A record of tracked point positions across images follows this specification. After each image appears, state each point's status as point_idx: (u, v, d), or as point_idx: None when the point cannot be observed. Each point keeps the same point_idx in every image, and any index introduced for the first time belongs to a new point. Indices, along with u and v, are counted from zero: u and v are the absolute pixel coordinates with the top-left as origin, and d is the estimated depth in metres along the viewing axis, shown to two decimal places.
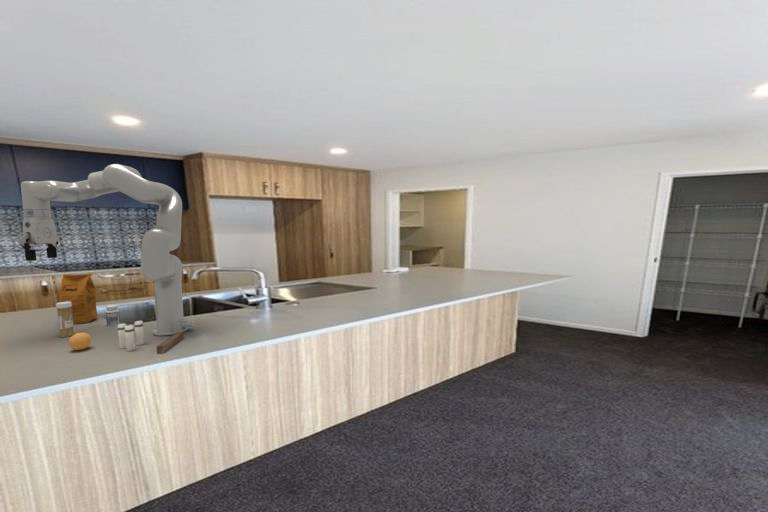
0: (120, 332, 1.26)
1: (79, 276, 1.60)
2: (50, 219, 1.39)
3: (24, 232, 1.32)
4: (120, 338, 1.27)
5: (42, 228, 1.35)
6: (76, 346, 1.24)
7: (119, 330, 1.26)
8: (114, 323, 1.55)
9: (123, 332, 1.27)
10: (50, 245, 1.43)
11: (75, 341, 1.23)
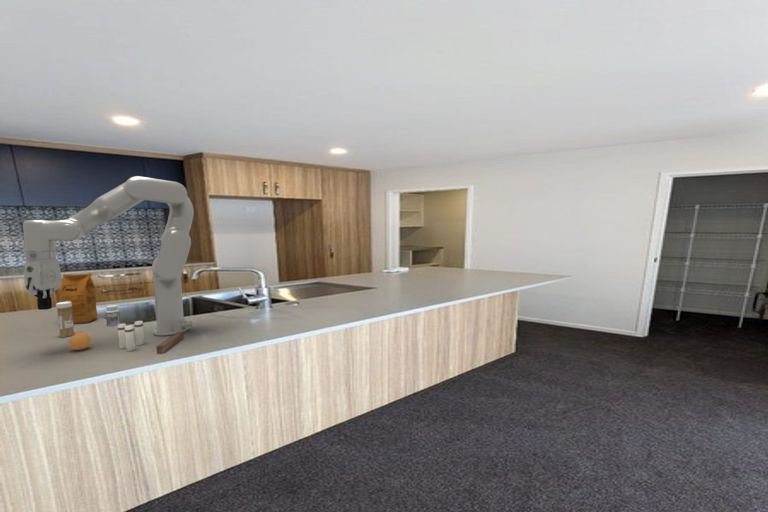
0: (120, 332, 1.26)
1: (79, 276, 1.60)
2: (55, 261, 1.25)
3: (26, 277, 1.18)
4: (120, 338, 1.27)
5: (45, 272, 1.21)
6: (76, 346, 1.24)
7: (119, 330, 1.26)
8: (114, 323, 1.55)
9: (123, 332, 1.27)
10: None
11: (75, 341, 1.23)
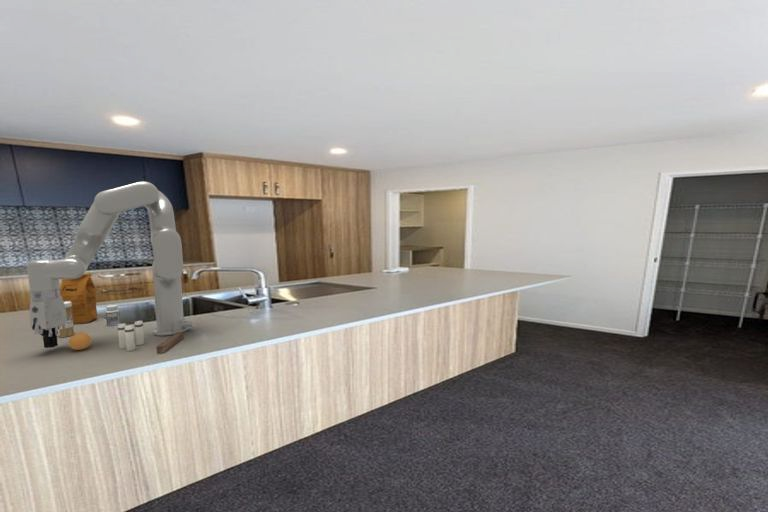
0: (120, 332, 1.26)
1: None
2: (59, 298, 1.26)
3: (31, 318, 1.19)
4: (120, 338, 1.27)
5: (50, 311, 1.22)
6: (76, 346, 1.24)
7: (119, 330, 1.26)
8: (114, 323, 1.55)
9: (123, 332, 1.27)
10: None
11: (75, 341, 1.23)
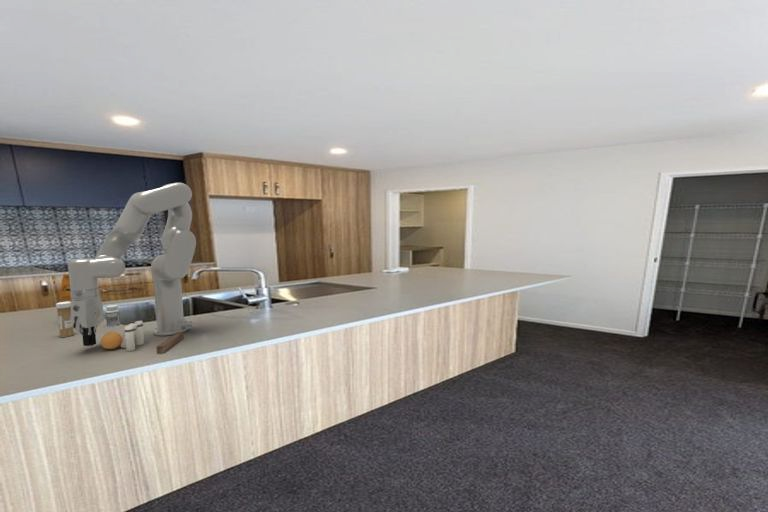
0: None
1: None
2: (98, 297, 1.28)
3: (72, 316, 1.21)
4: (125, 337, 1.27)
5: (90, 310, 1.24)
6: (104, 340, 1.24)
7: None
8: (114, 323, 1.55)
9: None
10: None
11: (104, 345, 1.24)
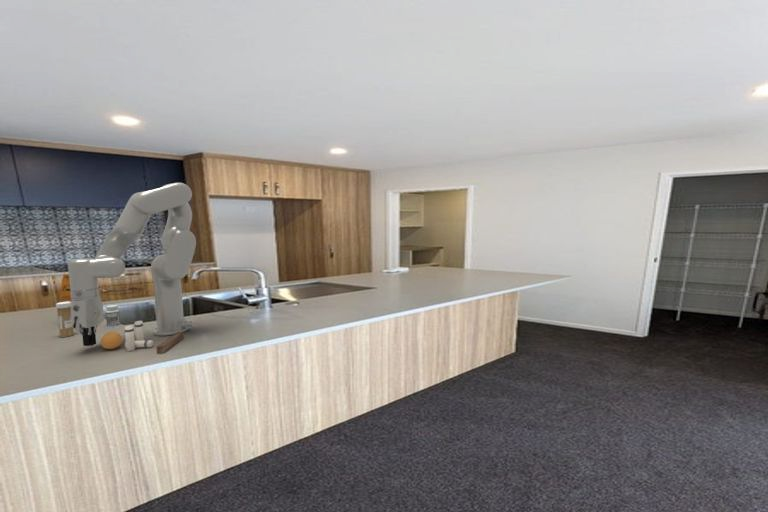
0: (141, 345, 1.27)
1: None
2: (98, 297, 1.28)
3: (72, 316, 1.21)
4: (135, 345, 1.27)
5: (90, 310, 1.24)
6: (104, 340, 1.24)
7: (143, 345, 1.27)
8: (114, 323, 1.55)
9: None
10: None
11: (104, 345, 1.24)
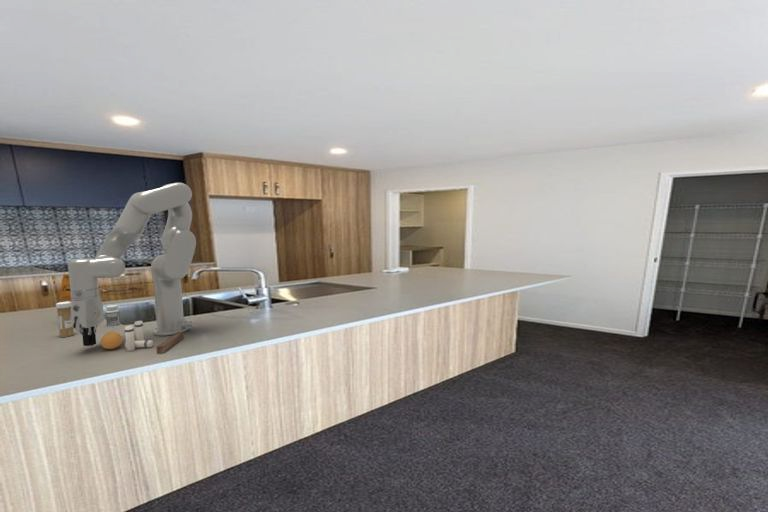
0: (141, 345, 1.27)
1: None
2: (98, 297, 1.28)
3: (72, 316, 1.21)
4: (135, 345, 1.27)
5: (90, 310, 1.24)
6: (104, 340, 1.24)
7: (143, 345, 1.27)
8: (114, 323, 1.55)
9: None
10: None
11: (104, 345, 1.24)
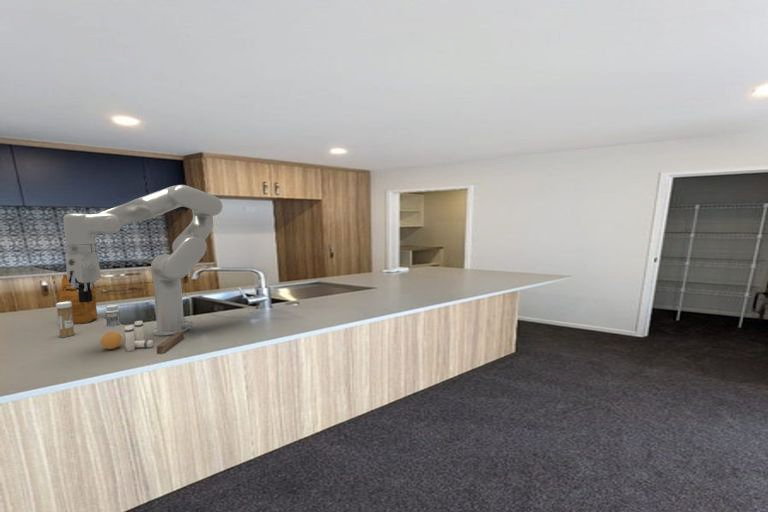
0: (141, 345, 1.27)
1: None
2: (94, 254, 1.26)
3: (68, 270, 1.19)
4: (135, 345, 1.27)
5: (86, 265, 1.22)
6: (104, 340, 1.24)
7: (143, 345, 1.27)
8: (114, 323, 1.55)
9: None
10: None
11: (104, 345, 1.24)
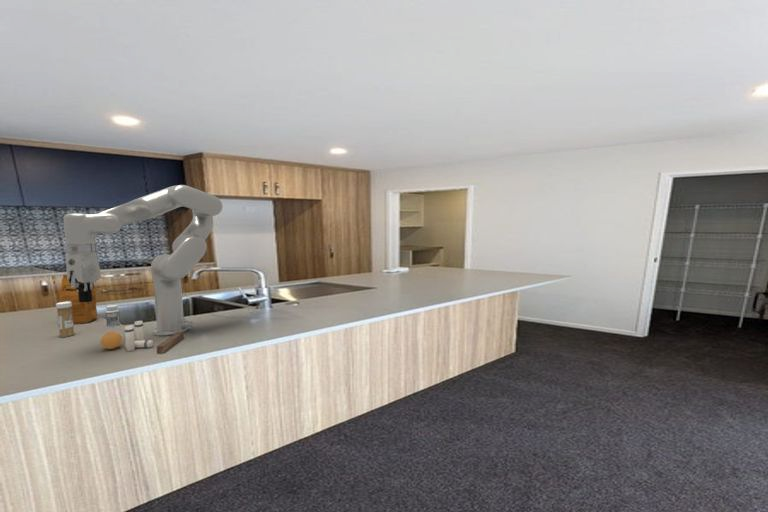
0: (141, 345, 1.27)
1: None
2: (94, 254, 1.26)
3: (68, 270, 1.19)
4: (135, 345, 1.27)
5: (86, 265, 1.22)
6: (104, 340, 1.24)
7: (143, 345, 1.27)
8: (114, 323, 1.55)
9: None
10: None
11: (104, 345, 1.24)
